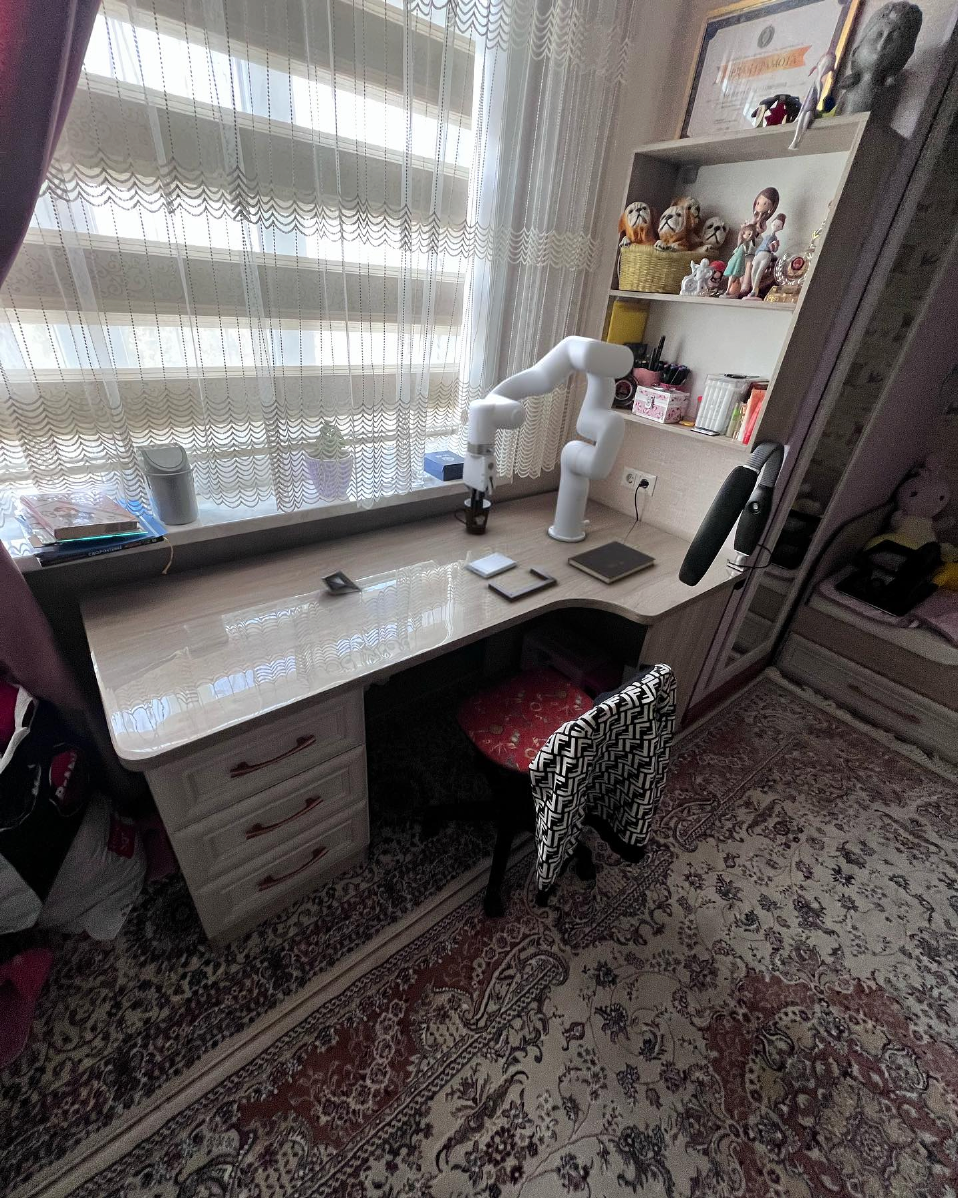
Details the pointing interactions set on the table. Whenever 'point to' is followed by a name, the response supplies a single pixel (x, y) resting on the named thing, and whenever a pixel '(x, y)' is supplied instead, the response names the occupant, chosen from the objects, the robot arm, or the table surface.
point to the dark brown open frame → (527, 591)
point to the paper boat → (339, 583)
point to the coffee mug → (475, 518)
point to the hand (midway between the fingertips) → (476, 510)
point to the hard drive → (491, 565)
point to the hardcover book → (611, 562)
